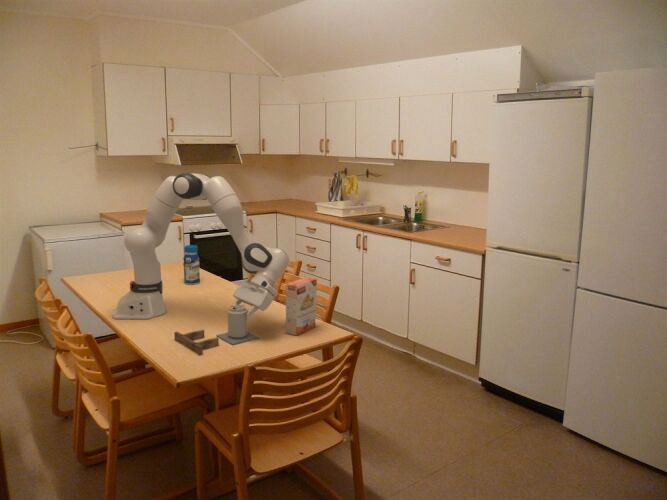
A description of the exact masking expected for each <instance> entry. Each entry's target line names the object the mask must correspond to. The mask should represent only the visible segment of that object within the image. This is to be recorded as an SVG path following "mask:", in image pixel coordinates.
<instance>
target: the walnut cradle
mask: <svg viewBox="0 0 667 500" xmlns="http://www.w3.org/2000/svg"><path fill="white" fill-rule="evenodd" d="M201 339H204V340H201ZM197 340H201V341H197ZM174 341H176V342H178V343H179V344H181V345H183V346H184V347H186V348H187V349H189V350H190V351H192V352H195V353H196V354H197V355H199V356H201V355H203V354H204V353H203V351H204V350H207V349H211V348H214V347H215V348H216V347H218V346H220V345H219V338H218V337H212V338H209V339H208V338H207V339H205V329H199V330H195V331H190V332H187V333H183V334H182V333H180V332H179V331H174Z"/></svg>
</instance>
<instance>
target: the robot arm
mask: <svg viewBox="0 0 667 500" xmlns="http://www.w3.org/2000/svg"><path fill="white" fill-rule="evenodd" d="M183 200H190V201H208V202H209V205H210V206H211V208H212V210H213V212H214V213H215V215H216V216H217V218H218V219H219V220H220V222H221V223H222V224H223V226H224V227H225V228H226V230H227V231H228V233H229V234H230V236H231V238H232V240H233V242H234V244H235V245H236V247H237V249H238V251H239V254H240V257H241V265H242V268H243V270H244V271H245V272H246V273H248V274H252V275H253V276H252V278H251V280H249V279H248V280H247V281H246V280H245V281H243V282H242V283H241V284H240V285H239V286H237V288H236V289H235V290H234V292H233V294H232V297H234V299H235V301H234V304H233V305H242V303H244V304H246V305H248V306H251V308H250V309H249V310H247V312H246V313H245V315H246V316H247V318H251V316H252V315H254V314H255V313H256V312H258V310H260V311H262V312H264V311H266V310H267V309H268V308H269V307H270V306H271V304H272V303H273V301H274V300H275V298H276V297H277V296H278V294H279V292H278V291H277V289H276V288H274V287H275V286H276V283H277V281H278V280H279V279H280V278H281V277H282V276H283V275H284V273H285V272H286V270H287V269H288V266H289V264H290V258H289V256H288V255H287V253H286V252H285V251H284V250H283V249H281V248H278V247H277V248H275V247H274V248H273V247H270V246H269V247H268V246H265V245H263V244H261V243H258V242H252V240H251V238H250V235H249V234H248V233H247V230H246V227H245V224H244V212H243V211H244V210H243V206H242V204H241V201H240V199H239V197H238V195H237V193H236V192H235V190H234V189H233V188H232V186H231V185H230V183H229V182H228V181H227V180H226V179H225V177H223V176H219V175H217V176H215V175H214V176H212V177H211V176H209V175H208V174H203V173H197V172H195V173H194V172H192V173H190V172H183V173H180V174H178V175H177V176H175V175H170V176H168V177H165V179H164V180H163V182H161V184H160V186H159V187H158V189H157V190H156V192H155V194H154V195H153V197H152V199H151V200H150V202H149V204H148V206H147V207H146V210H145V212H146V213H145V218H144V220H143V223H142V224H141V225H140V226H138V227H135V228H133V229H131V230H130V231H128V233H127V234H126V236H125V237H124V241H123V243H124V247H125V249H126V250H127V251H128V252H129V254H130V257H131V261H132V265H133V275H134V278H133V279H134V280H131V281H130V282H129V291H128V292H127V293H125V294H124V295H123V296H122V297H120V299H119V300H118V302H117V308H115V309H114V310H112V312H111V313H112V314H111V317H112V319H116V320H119V319H120V320H121V319H122V320H124V319H125V320H150V319H152V318H155V317H159V316H161V315H164V314H166V312H167V309H166V306H165V303H164V297H163V293H164V285H163V280H162V275H161V274H162V271H161V263H160V261H159V260H158V257H157V253H156V248H158V247H160V246H161V245H162V243H163V242H164V241H165V240H166V237H167V232H168V229H169V227H170V224H171V222H172V220H173V218H174V216H175V214H176V213H177V212H178V209H179V207H180V206H181V204H182V202H183Z"/></svg>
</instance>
